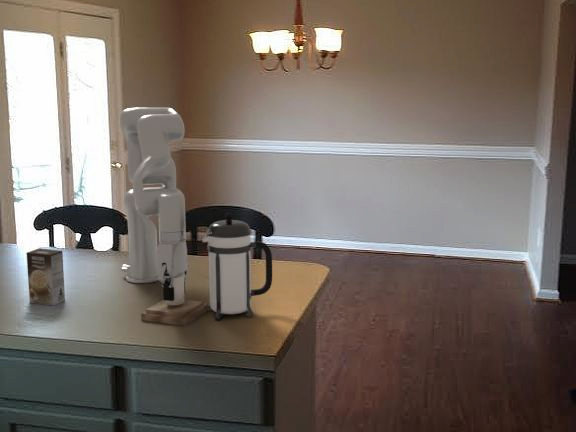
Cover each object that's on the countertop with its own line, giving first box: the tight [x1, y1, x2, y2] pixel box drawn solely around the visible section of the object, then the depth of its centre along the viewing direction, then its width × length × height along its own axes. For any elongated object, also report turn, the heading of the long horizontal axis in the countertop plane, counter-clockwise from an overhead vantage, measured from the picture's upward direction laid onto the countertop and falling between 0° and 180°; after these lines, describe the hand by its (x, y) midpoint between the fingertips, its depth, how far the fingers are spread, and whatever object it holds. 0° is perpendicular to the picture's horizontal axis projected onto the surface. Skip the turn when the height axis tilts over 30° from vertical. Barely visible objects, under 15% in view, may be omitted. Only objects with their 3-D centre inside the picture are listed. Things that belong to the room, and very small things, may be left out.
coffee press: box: [202, 212, 273, 321], centre depth 202 cm, size 17×16×30 cm
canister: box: [165, 273, 186, 305], centre depth 200 cm, size 6×6×9 cm
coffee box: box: [26, 247, 66, 306], centre depth 214 cm, size 9×6×16 cm
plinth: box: [140, 299, 209, 327], centre depth 202 cm, size 14×14×3 cm
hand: (174, 296), depth 201 cm, fingers closed on canister, 5 cm apart
